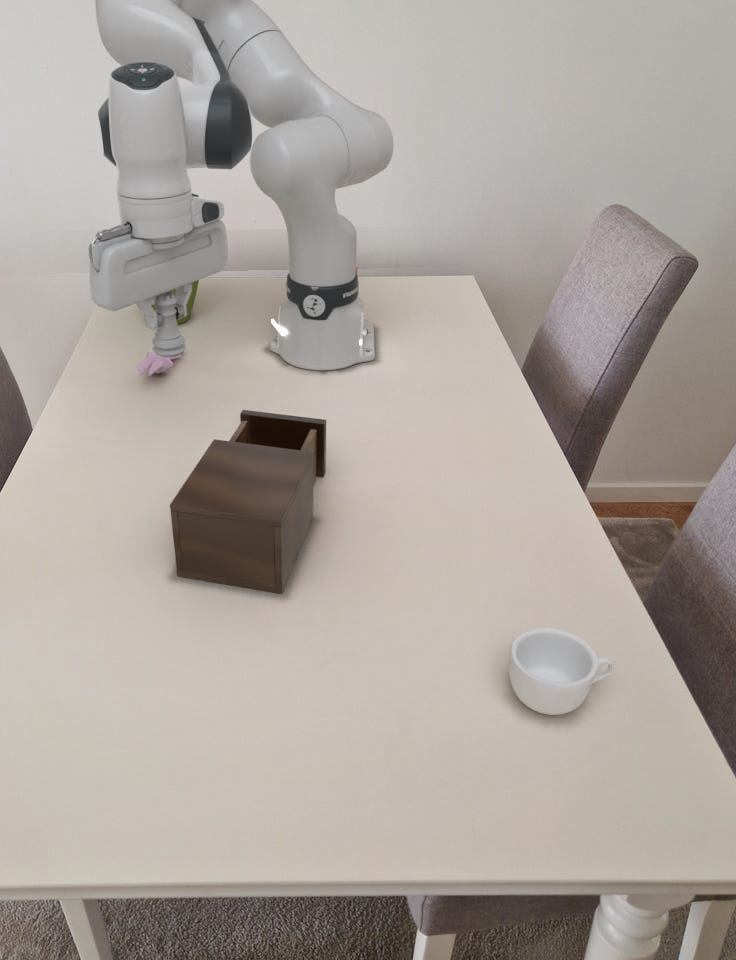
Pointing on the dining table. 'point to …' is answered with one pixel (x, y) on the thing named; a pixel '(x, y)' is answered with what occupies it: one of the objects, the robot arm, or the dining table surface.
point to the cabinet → (243, 515)
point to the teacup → (554, 670)
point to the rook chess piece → (168, 328)
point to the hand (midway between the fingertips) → (167, 322)
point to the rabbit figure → (155, 363)
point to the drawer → (285, 435)
